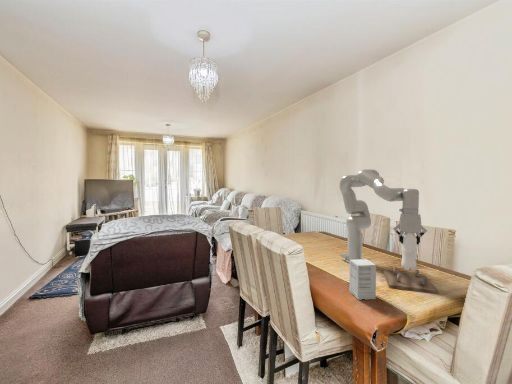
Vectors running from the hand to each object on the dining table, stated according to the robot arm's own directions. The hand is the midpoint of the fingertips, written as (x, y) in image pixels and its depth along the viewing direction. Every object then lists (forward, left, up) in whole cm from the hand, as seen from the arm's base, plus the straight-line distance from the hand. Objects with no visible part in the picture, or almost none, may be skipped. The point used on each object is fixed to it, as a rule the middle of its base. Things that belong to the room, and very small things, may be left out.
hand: (409, 243), depth 139 cm
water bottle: (0, 0, -15) cm, 15 cm away
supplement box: (-25, -25, -22) cm, 42 cm away
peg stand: (0, 0, -22) cm, 22 cm away
